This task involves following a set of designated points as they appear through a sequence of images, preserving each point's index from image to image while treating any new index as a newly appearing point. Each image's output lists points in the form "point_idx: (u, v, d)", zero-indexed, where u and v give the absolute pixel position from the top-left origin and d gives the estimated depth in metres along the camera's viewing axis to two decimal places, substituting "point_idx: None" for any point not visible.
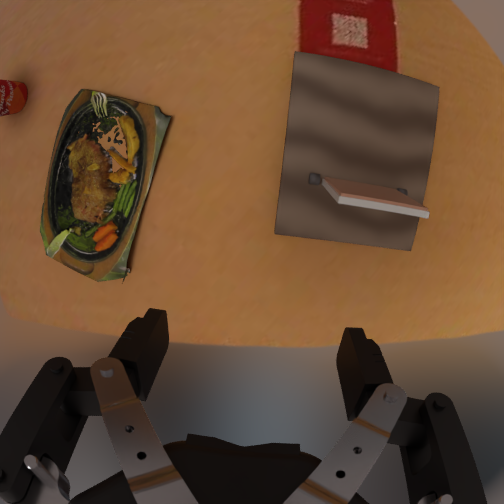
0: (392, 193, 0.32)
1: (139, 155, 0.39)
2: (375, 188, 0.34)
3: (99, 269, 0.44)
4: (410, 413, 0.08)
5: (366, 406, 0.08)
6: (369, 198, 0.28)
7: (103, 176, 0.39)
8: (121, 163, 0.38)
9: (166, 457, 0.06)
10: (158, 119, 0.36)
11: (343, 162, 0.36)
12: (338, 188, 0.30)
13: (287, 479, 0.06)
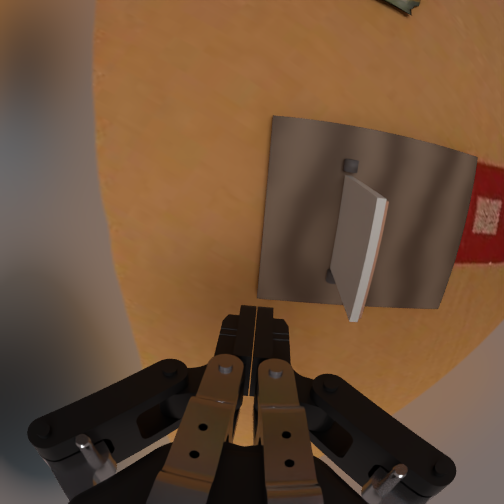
0: None
1: None
2: None
3: None
4: (298, 391, 0.09)
5: (260, 390, 0.09)
6: (379, 240, 0.21)
7: None
8: None
9: (214, 467, 0.06)
10: (406, 1, 0.22)
11: None
12: None
13: None
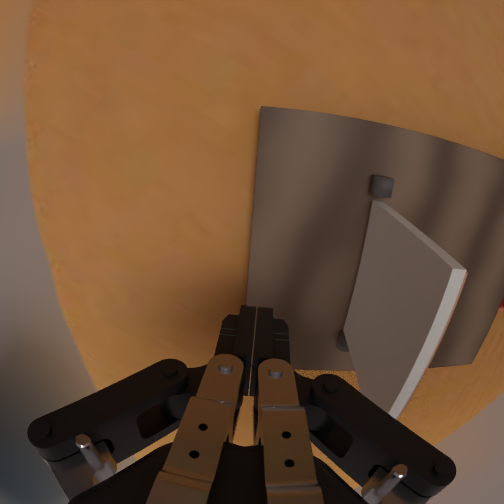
0: None
1: None
2: None
3: None
4: (298, 392, 0.09)
5: (260, 390, 0.09)
6: (441, 335, 0.10)
7: None
8: None
9: (214, 467, 0.06)
10: None
11: None
12: None
13: None
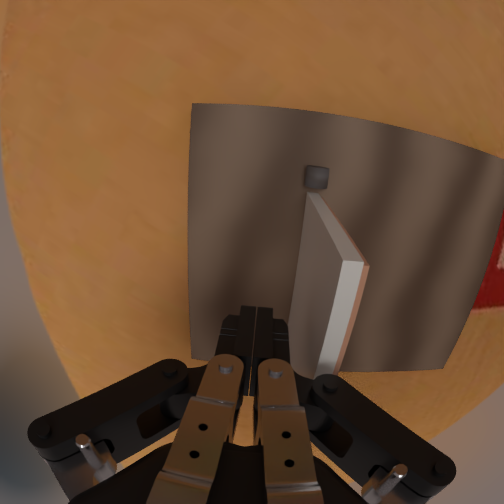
0: None
1: None
2: None
3: None
4: (298, 391, 0.09)
5: (260, 390, 0.09)
6: (347, 337, 0.11)
7: None
8: None
9: (214, 467, 0.06)
10: None
11: None
12: None
13: None
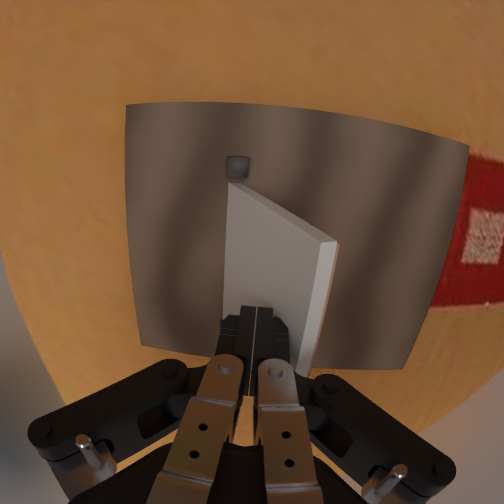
0: None
1: None
2: None
3: None
4: (298, 391, 0.09)
5: (260, 390, 0.09)
6: (323, 311, 0.12)
7: None
8: None
9: (214, 467, 0.06)
10: None
11: None
12: None
13: None
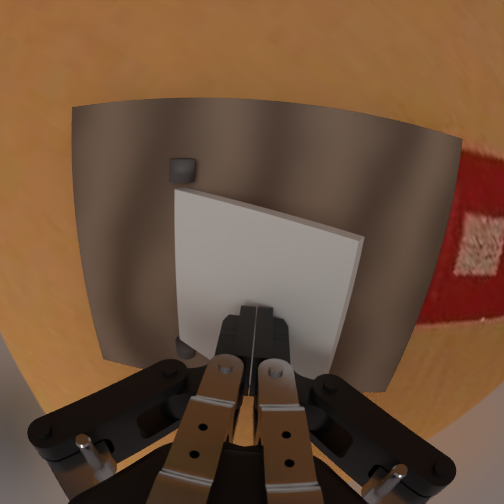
0: None
1: None
2: None
3: None
4: (298, 392, 0.09)
5: (260, 390, 0.09)
6: None
7: None
8: None
9: (214, 467, 0.06)
10: None
11: None
12: None
13: None
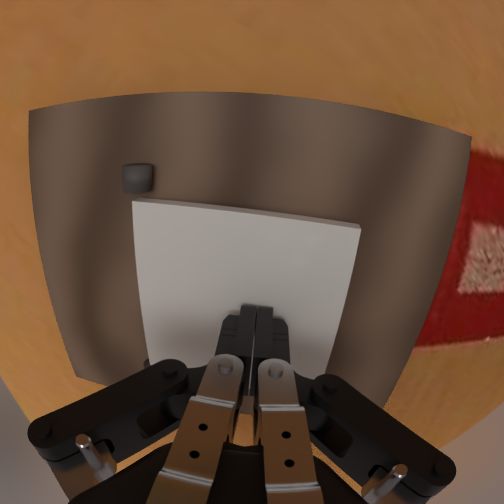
0: None
1: None
2: None
3: None
4: (298, 391, 0.09)
5: (260, 390, 0.09)
6: None
7: None
8: None
9: (214, 468, 0.06)
10: None
11: None
12: None
13: None
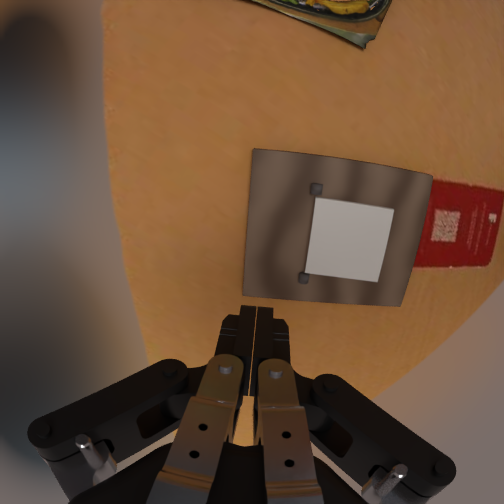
0: None
1: (325, 11, 0.29)
2: None
3: None
4: (298, 391, 0.09)
5: (260, 390, 0.09)
6: None
7: None
8: None
9: (214, 467, 0.06)
10: (362, 36, 0.29)
11: None
12: None
13: None
